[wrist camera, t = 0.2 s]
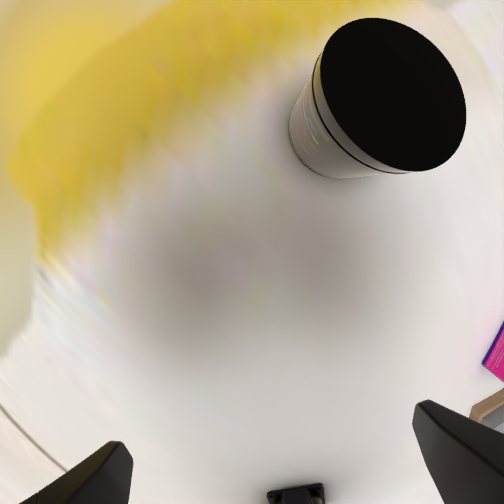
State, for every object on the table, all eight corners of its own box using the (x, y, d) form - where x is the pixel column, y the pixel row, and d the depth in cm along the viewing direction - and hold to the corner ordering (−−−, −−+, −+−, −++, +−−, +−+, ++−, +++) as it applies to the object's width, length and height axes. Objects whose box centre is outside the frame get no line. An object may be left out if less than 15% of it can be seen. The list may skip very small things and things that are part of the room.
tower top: (507, 429, 24) (515, 439, 22) (469, 453, 24) (477, 464, 22) (522, 391, 23) (532, 401, 20) (483, 417, 23) (493, 428, 21)
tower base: (501, 421, 27) (509, 430, 24) (455, 448, 27) (463, 459, 25) (516, 376, 25) (527, 384, 23) (470, 403, 25) (480, 414, 23)
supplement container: (318, 197, 20) (381, 204, 10) (267, 114, 19) (282, 46, 9) (393, 154, 20) (487, 135, 9) (346, 75, 19) (409, 5, 8)
